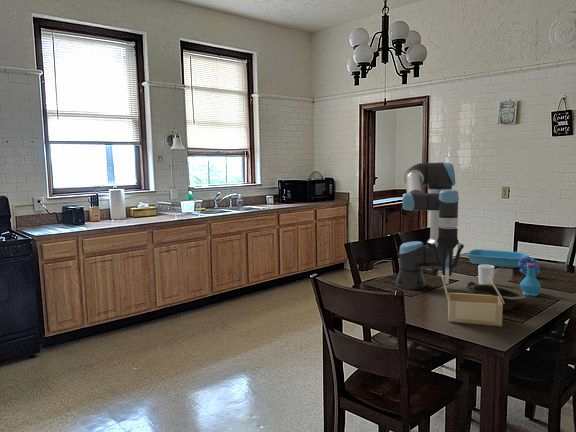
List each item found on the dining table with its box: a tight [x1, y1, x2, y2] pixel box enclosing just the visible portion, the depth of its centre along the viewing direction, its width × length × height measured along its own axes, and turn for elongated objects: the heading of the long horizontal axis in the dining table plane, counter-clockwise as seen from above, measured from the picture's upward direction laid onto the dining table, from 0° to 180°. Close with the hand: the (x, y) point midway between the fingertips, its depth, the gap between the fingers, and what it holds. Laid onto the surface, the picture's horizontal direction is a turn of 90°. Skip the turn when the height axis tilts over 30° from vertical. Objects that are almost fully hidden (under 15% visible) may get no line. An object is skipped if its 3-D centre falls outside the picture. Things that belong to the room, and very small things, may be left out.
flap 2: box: [489, 277, 505, 304], centre depth 188 cm, size 9×11×1 cm
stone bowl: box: [465, 281, 527, 311], centre depth 210 cm, size 25×25×9 cm
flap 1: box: [441, 274, 449, 301], centre depth 194 cm, size 9×11×1 cm
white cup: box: [477, 264, 495, 285], centre depth 244 cm, size 8×8×10 cm
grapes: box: [517, 255, 541, 278], centre depth 258 cm, size 12×7×12 cm, turn 57°
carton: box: [447, 292, 504, 327], centre depth 191 cm, size 20×13×9 cm, turn 72°
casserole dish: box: [465, 248, 530, 269], centre depth 292 cm, size 37×22×7 cm, turn 56°
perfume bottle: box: [519, 263, 542, 297], centre depth 226 cm, size 9×9×15 cm
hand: (446, 282), depth 194 cm, fingers closed
